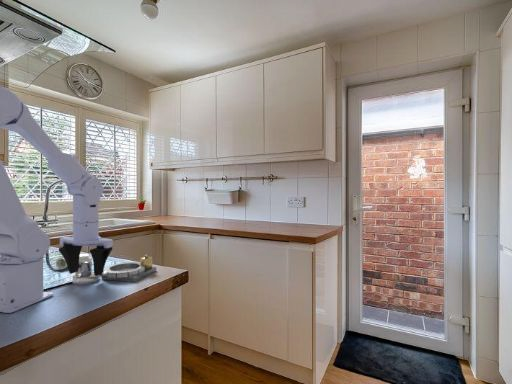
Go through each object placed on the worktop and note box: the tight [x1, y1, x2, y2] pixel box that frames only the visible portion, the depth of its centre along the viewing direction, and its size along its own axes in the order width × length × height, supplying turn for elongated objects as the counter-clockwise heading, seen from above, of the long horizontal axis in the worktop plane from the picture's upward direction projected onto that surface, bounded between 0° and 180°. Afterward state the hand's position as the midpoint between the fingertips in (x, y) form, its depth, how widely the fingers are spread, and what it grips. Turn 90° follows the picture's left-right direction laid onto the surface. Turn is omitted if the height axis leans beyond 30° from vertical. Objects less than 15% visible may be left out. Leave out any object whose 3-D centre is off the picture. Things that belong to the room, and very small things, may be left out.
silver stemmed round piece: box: [72, 260, 100, 286], centre depth 73 cm, size 6×6×5 cm
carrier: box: [101, 254, 157, 283], centre depth 78 cm, size 11×11×5 cm
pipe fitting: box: [55, 251, 93, 270], centre depth 87 cm, size 8×4×7 cm
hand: (86, 273), depth 73 cm, fingers open, 7 cm apart
